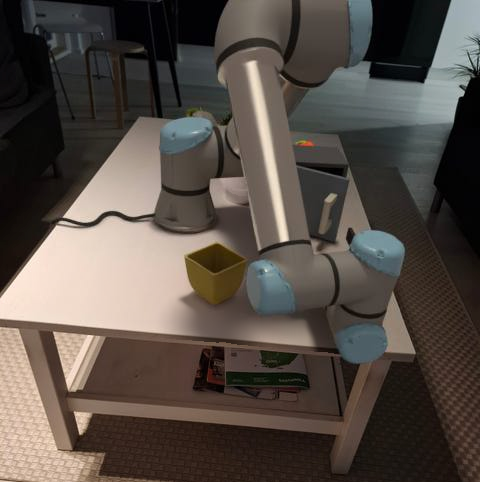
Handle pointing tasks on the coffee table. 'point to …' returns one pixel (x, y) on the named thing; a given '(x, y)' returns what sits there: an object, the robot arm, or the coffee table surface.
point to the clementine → (305, 143)
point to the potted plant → (200, 115)
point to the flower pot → (215, 272)
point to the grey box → (321, 159)
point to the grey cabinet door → (322, 201)
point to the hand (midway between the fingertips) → (317, 232)
